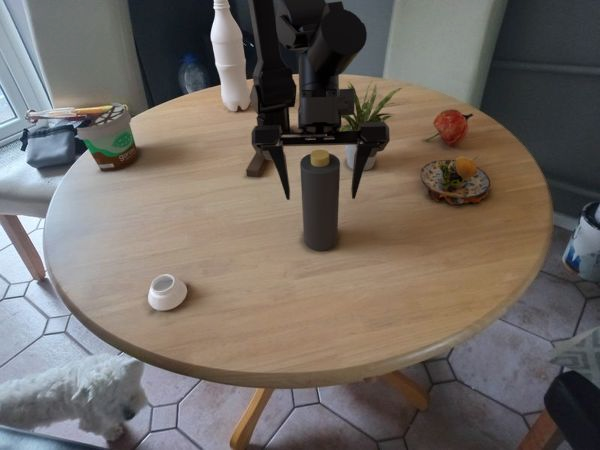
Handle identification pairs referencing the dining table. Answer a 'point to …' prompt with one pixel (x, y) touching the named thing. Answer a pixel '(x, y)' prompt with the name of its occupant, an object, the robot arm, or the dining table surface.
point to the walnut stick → (256, 165)
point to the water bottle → (229, 57)
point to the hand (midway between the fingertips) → (320, 199)
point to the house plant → (362, 118)
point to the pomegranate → (451, 126)
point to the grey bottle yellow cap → (320, 199)
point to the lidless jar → (166, 292)
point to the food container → (110, 139)
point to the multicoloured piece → (455, 180)
